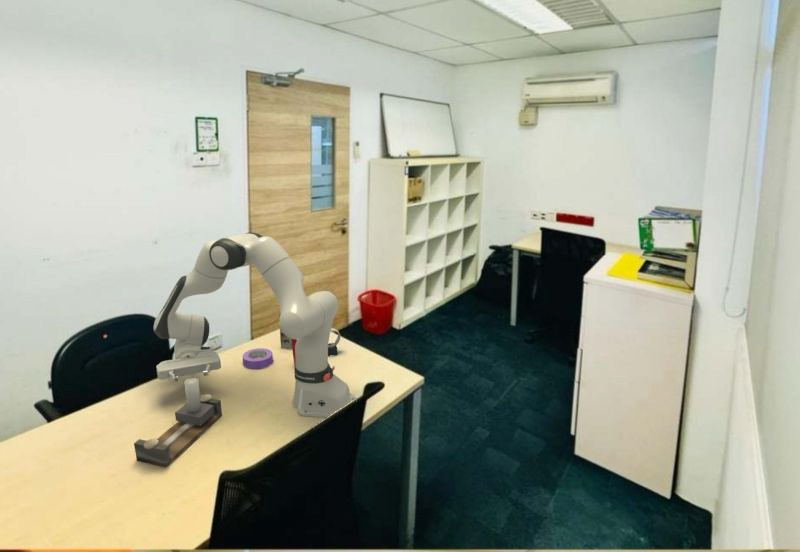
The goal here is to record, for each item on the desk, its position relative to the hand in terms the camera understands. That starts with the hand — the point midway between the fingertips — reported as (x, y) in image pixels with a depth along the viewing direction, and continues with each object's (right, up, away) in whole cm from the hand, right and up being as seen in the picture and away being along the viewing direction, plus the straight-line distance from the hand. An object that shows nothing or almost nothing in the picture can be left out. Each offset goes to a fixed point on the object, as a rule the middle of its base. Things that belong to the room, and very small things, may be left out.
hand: (190, 376), depth 156 cm
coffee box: (+22, +3, +51) cm, 55 cm away
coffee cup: (+30, -3, +33) cm, 45 cm away
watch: (+41, +1, +44) cm, 60 cm away
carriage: (+5, -11, -7) cm, 14 cm away
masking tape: (+12, -2, +34) cm, 36 cm away
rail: (+3, -16, -12) cm, 20 cm away
